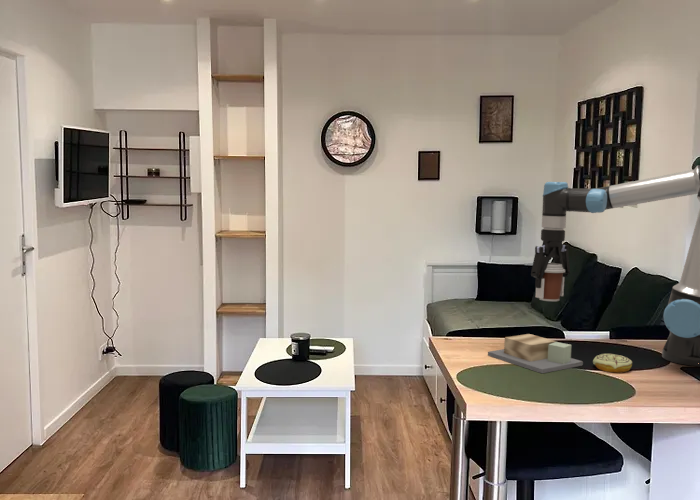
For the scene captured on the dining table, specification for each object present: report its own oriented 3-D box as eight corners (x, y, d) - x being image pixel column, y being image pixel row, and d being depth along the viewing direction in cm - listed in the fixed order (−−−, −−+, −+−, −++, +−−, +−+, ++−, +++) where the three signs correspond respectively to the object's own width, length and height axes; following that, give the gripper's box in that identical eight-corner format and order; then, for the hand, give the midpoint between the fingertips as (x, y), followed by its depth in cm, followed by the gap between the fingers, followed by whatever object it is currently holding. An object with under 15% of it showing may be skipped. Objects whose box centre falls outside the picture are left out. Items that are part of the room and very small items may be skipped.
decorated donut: (586, 367, 198) (587, 355, 198) (605, 362, 205) (606, 350, 204) (618, 376, 190) (619, 363, 189) (637, 370, 196) (638, 357, 196)
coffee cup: (554, 303, 212) (556, 266, 210) (529, 299, 218) (531, 263, 217) (568, 300, 218) (571, 264, 217) (544, 296, 225) (546, 261, 223)
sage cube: (570, 360, 200) (571, 344, 199) (563, 364, 196) (564, 347, 195) (554, 357, 203) (555, 341, 202) (547, 360, 199) (548, 344, 199)
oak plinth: (555, 357, 204) (556, 341, 203) (530, 361, 198) (531, 345, 197) (528, 348, 213) (529, 333, 212) (503, 352, 207) (504, 337, 207)
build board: (582, 365, 200) (582, 361, 199) (542, 373, 190) (542, 369, 190) (527, 348, 218) (527, 345, 218) (487, 355, 208) (487, 351, 208)
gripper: (566, 227, 225) (562, 292, 227) (521, 228, 213) (517, 297, 215) (584, 229, 218) (580, 296, 221) (539, 230, 207) (535, 301, 209)
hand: (549, 296), depth 218 cm, fingers closed on coffee cup, 9 cm apart
